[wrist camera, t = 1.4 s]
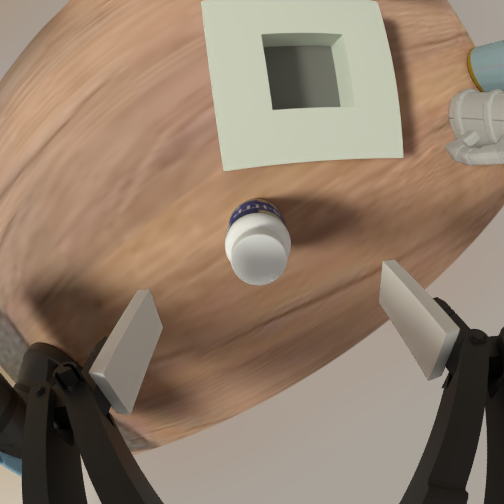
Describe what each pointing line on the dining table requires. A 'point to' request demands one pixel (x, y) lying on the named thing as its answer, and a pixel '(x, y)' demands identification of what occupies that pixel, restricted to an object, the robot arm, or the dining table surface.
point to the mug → (477, 127)
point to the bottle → (487, 66)
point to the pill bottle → (257, 242)
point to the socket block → (301, 81)
